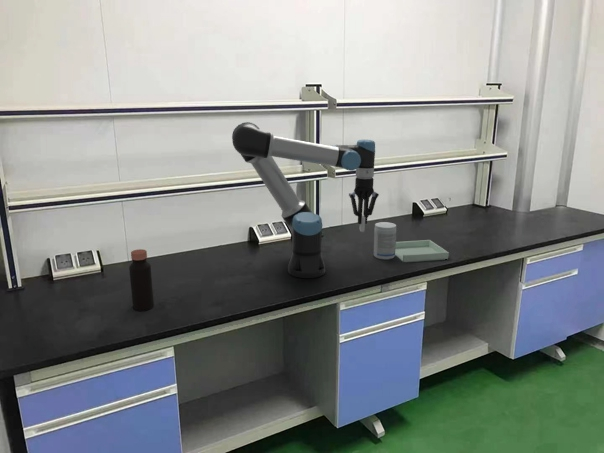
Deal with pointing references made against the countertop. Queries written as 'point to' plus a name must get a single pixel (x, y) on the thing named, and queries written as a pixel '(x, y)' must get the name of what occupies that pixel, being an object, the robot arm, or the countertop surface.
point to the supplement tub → (384, 240)
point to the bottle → (141, 281)
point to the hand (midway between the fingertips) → (361, 230)
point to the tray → (419, 251)
